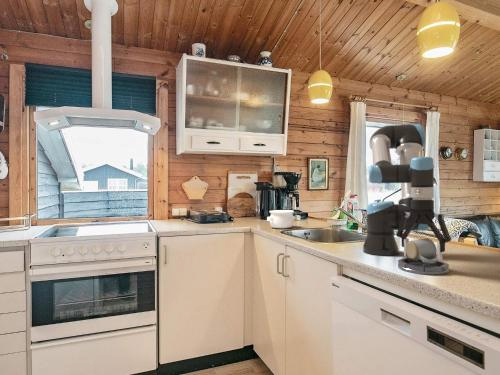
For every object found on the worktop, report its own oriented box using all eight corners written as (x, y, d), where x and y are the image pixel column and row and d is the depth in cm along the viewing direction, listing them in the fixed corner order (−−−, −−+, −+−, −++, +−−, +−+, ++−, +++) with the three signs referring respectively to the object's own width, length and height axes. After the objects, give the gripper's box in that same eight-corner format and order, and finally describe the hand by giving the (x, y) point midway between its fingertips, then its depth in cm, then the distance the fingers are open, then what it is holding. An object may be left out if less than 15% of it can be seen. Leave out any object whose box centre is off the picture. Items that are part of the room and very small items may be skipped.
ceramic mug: (403, 257, 124) (403, 237, 123) (422, 256, 125) (422, 236, 125) (424, 265, 113) (424, 243, 113) (444, 263, 115) (444, 242, 115)
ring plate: (390, 268, 121) (390, 262, 121) (408, 261, 132) (408, 255, 132) (439, 278, 108) (439, 270, 108) (454, 268, 120) (454, 261, 120)
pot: (273, 230, 223) (272, 212, 223) (262, 227, 239) (262, 210, 239) (301, 228, 231) (300, 211, 231) (289, 225, 247) (289, 209, 247)
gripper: (386, 198, 126) (386, 255, 126) (455, 200, 109) (455, 265, 109) (394, 197, 131) (395, 252, 131) (461, 199, 114) (461, 261, 114)
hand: (422, 258), depth 120 cm, fingers closed on ceramic mug, 11 cm apart
